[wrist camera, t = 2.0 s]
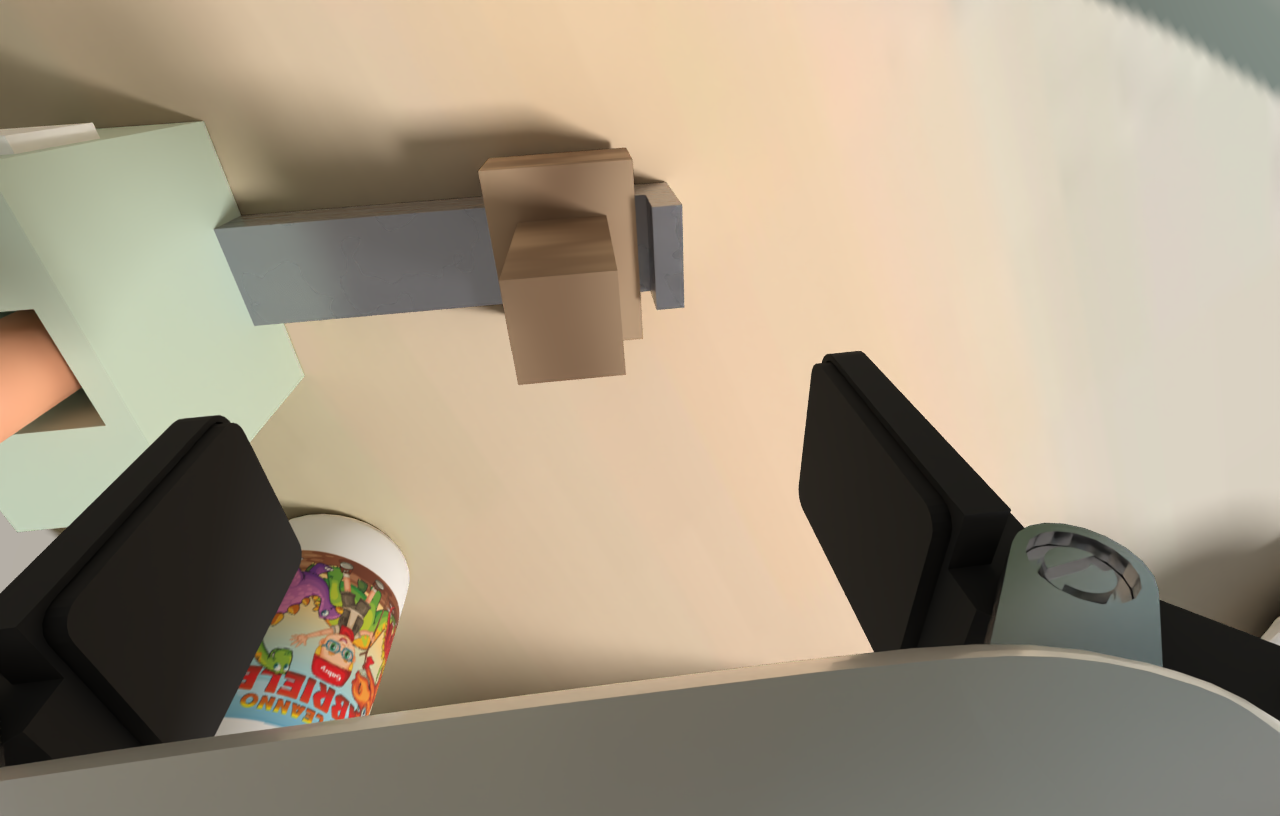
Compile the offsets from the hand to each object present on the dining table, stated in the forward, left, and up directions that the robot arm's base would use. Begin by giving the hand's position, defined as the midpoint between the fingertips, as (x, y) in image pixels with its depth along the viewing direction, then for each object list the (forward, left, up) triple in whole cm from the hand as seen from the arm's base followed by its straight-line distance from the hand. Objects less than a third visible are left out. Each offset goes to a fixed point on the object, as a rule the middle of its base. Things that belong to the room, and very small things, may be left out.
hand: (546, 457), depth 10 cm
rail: (+4, 0, -16) cm, 16 cm away
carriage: (0, 0, -16) cm, 16 cm away
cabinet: (+14, 0, -16) cm, 21 cm away
